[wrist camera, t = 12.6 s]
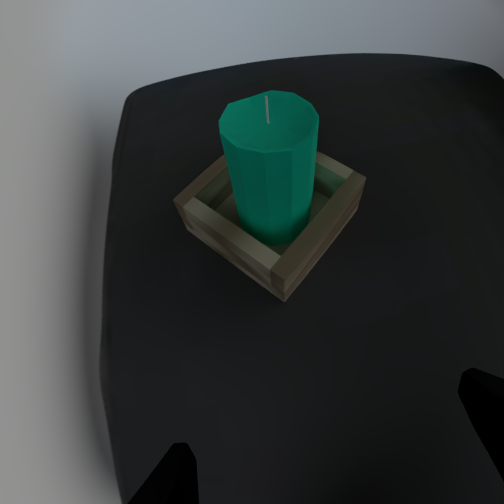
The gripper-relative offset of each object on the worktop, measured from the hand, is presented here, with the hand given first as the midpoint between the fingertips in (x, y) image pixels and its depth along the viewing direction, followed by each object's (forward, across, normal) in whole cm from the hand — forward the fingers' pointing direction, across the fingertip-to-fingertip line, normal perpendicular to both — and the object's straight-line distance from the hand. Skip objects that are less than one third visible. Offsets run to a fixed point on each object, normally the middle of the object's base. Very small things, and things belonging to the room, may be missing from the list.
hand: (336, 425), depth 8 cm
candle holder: (+21, -1, -2) cm, 21 cm away
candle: (+20, -1, -2) cm, 20 cm away
